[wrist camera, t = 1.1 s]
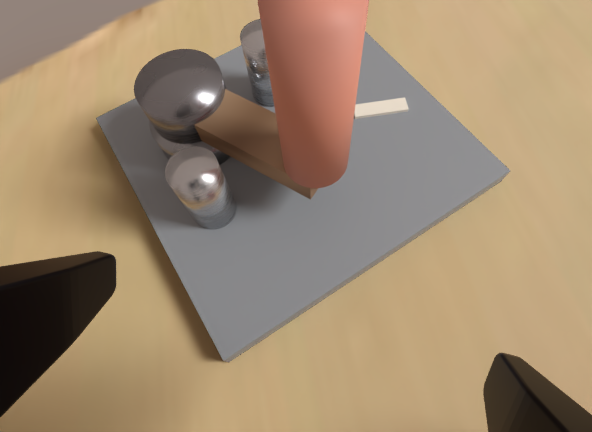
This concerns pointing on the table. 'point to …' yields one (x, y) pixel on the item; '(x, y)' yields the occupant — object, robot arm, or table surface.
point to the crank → (285, 88)
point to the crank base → (298, 197)
